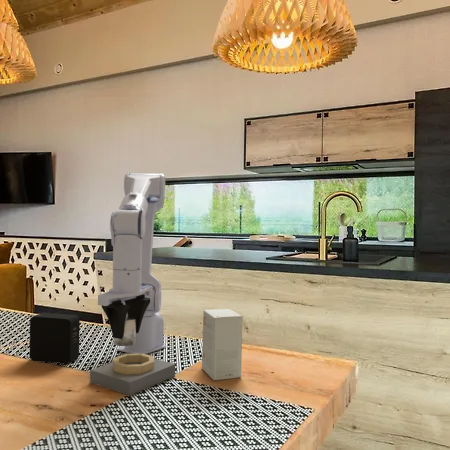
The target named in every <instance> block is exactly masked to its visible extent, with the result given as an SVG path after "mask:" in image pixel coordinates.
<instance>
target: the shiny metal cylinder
mask: <svg viewBox="0 0 450 450" xmlns="http://www.w3.org/2000/svg"><path fill="white" fill-rule="evenodd" d="M135 343H136V318H135V317H127V316H126V319H125V327H124V336H123V338H122V339H117V338H113V345H114V346H117V347H122V346H130V345H134V344H135Z"/></svg>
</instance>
